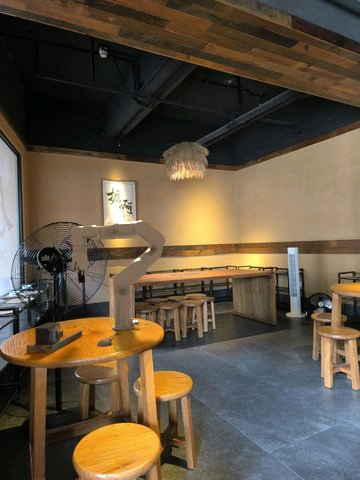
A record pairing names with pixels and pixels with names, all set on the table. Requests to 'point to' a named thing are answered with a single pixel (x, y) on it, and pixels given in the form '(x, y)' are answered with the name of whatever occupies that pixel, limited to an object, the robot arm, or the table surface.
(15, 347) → the table surface
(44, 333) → the small box
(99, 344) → the soupspoon
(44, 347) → the chute
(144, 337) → the table surface
